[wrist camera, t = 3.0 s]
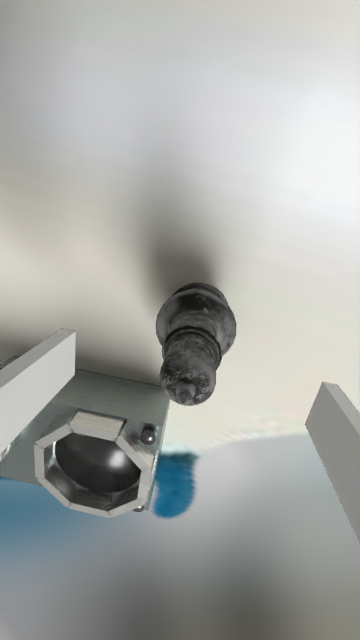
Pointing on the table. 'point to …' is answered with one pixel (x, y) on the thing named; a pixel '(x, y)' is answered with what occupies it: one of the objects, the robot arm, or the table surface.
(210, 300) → the dark grey tapered piece
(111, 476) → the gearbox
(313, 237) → the table surface
